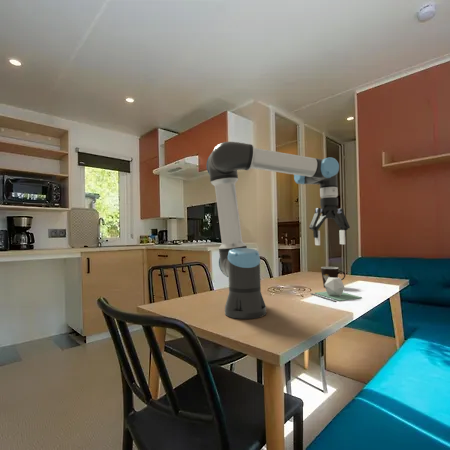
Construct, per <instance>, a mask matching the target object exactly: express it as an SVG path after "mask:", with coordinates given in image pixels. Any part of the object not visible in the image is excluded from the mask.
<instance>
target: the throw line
mask: <svg viewBox="0 0 450 450" xmlns="http://www.w3.org/2000/svg"><path fill="white" fill-rule="evenodd" d="M310 295H311V296H314V297H318V298H321V299H324V300H326V301H330V302H335V303H337V300H334V299H331V298H327V297H324V296H321V295H318V294H315V293H313V292H312V293H310Z"/></svg>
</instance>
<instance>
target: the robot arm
mask: <svg viewBox="0 0 450 450" xmlns="http://www.w3.org/2000/svg"><path fill="white" fill-rule="evenodd" d="M251 169H254V170H261V171H268V172H275V173H281V174H282V173H283V174H287V175H293V179H294V182H295V183H296V184H297V185H303V186H304V185H319V197H320V199H319V200H320V201H319V202H320V203H319V204H320V206H319V207H316V208H315V209H314V214H313V217H312V220H311V222H310V224H309V229H310V230H312V231H313V234H312V235H313V238H314V245H315V246H321V230H320V228H321V226H322V225H323V224H324V222H325V221H326V220H327V219H332V220H333V221H334V222H335V223H336V225H337V226H338V228H339V230H338V231H339V233H338V235H339V245H346V237H347V232H346V231H347V230H349V229H350V224H349V222H348V220H347V218H346V215H345V213H344V212H345V211H344V208H341V207H340V208H338V206H339V198H338V196H339V191H338V189H339V187H338V186H339V185H338V173H339V170H340V163H339V162H338V160H337V159H336V158H334V157H325V158H323V159H322V158H315V157H310V156H303V155H298V154H294V153H293V154H291V153H287V152H286V153H285V152H280V151H274V150H269V149H263V148H257V147H255V146H254V145H253V144H250V143H244V142H237V141H223V142H220V143H219V144H217V145H216V146H214V149H213V150H212V152H211V153H210V154H209V156H208V158H207V160H206V171H207V173H208V175H209V180H210V184H211V185H212V186H214V191H215V197H216V198H215V199H216V200H215V201H216V207H217V215H218V222H219V231H220V239H221V244H220V245H219V247H218V253H219V259H218V267H219V270H220V271H221V272H222V274H223V275H224V276H226V277H227V278H228V295H227V299H226V302H225V305H224V314H225V316H227V317H229V318H232V319H238V320H250V319H251V320H252V319H258V318H261V317H264V316H265V315H266V314H267V305H266V303H265V300H264V297H263V295H262V292H261V291H262V290H261V289H262V287H261V285H262V284H261V258H260V252H259V251H258V250H256V249H255V248H249V247H248V246H247V244H246V243H245V242H244V241H243V236H242V227H241V220H240V213H239V204H238V196H237V186H236V183H237V182H238V181H239V176H238V175H239V174H238V171H239V170H240V171H241V170H242V171H249V170H251ZM247 247H248V248H247Z"/></svg>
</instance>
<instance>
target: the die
mask: <svg viewBox="0 0 450 450" xmlns="http://www.w3.org/2000/svg"><path fill="white" fill-rule="evenodd" d="M341 279H342V278H341V277H338V278H333V277H328V279H327V281H326V283H325V285H323V287H324V286H325V288H324V289H325V290H326V291H327V293H328V296H341V295H342V293H343V292H344V290H345V285H344V283H343V280H341ZM326 291H325V292H326Z"/></svg>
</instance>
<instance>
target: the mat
mask: <svg viewBox="0 0 450 450" xmlns="http://www.w3.org/2000/svg"><path fill="white" fill-rule="evenodd" d="M314 294H316V295H319V296H322V297H326V298H329V299H332V300H335V301H336V302H337V301H338V302H344V301H351V300H357V299H362V298H363V297H362V296H359V295H355V294H351V293H348V292H344V291H343V293H342V295H341V296H328V293H327V291H319V292H314Z"/></svg>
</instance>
